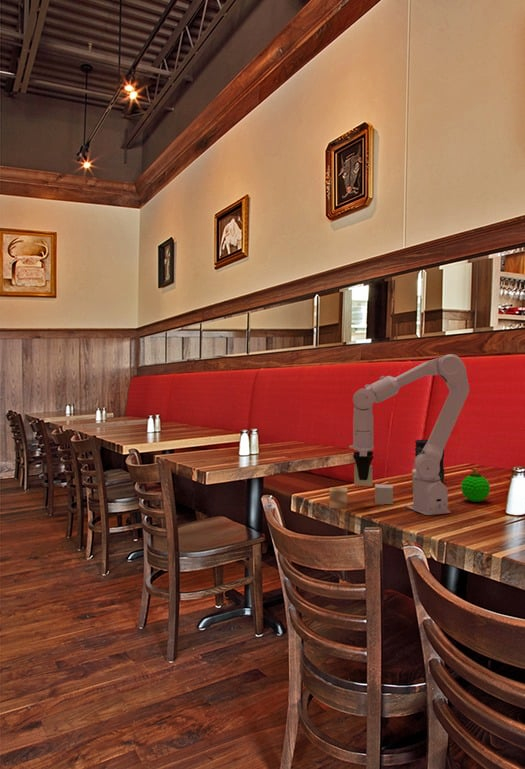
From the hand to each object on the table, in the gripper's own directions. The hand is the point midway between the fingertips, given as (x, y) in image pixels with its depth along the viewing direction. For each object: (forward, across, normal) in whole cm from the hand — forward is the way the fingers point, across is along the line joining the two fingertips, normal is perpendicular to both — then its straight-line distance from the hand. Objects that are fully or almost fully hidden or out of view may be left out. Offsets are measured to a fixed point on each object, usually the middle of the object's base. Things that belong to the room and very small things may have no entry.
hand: (363, 478), depth 156 cm
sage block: (+2, 0, 0) cm, 2 cm away
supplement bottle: (+9, -23, +18) cm, 30 cm away
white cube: (+8, -7, +6) cm, 13 cm away
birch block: (+8, 0, -7) cm, 11 cm away
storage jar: (+9, -39, +23) cm, 46 cm away
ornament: (+9, -13, +33) cm, 36 cm away
